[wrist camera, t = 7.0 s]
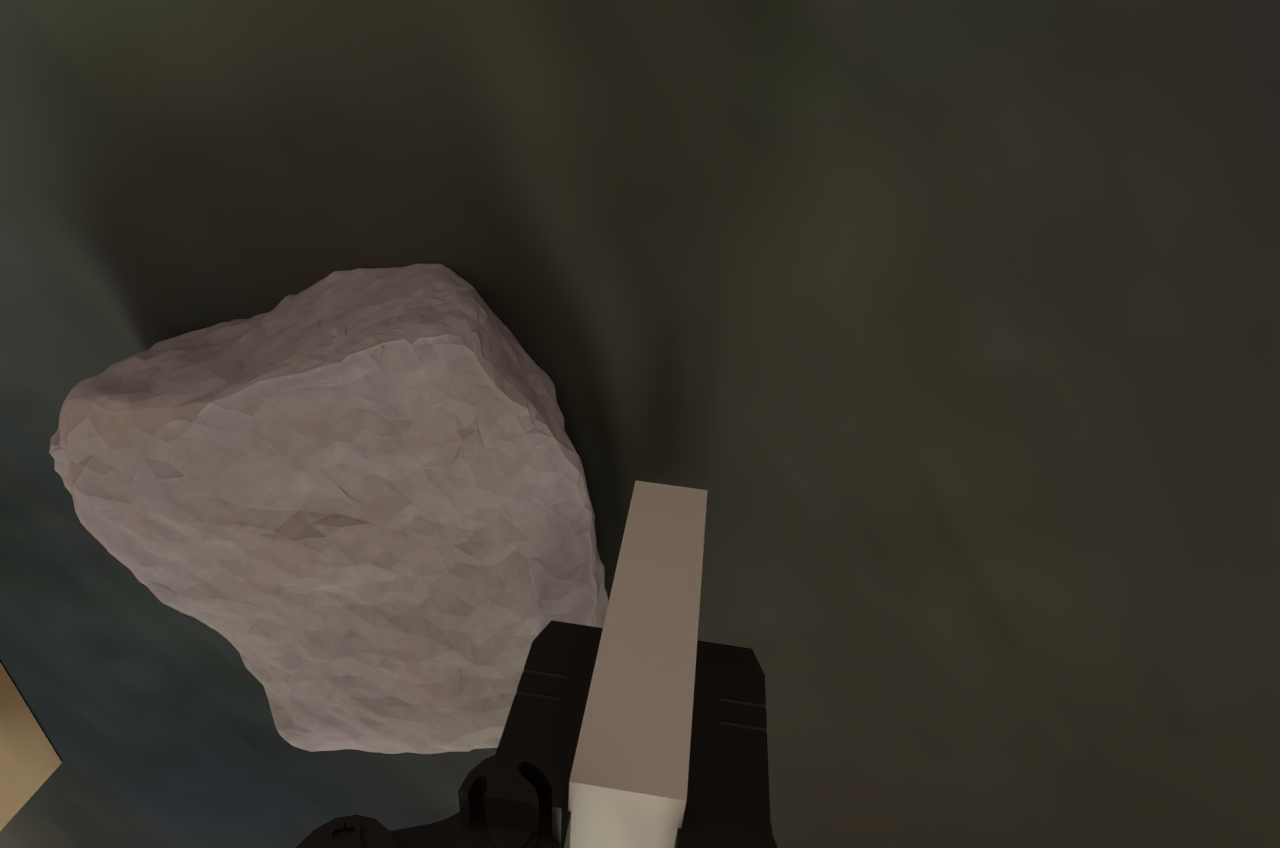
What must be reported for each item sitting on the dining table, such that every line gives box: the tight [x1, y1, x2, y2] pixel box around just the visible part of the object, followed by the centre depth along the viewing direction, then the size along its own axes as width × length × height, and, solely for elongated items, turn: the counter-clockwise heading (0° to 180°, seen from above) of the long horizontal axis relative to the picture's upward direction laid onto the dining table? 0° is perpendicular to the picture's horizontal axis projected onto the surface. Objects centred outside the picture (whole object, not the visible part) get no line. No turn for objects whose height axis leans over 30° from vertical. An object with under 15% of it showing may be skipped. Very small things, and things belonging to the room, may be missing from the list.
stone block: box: [49, 263, 609, 754], centre depth 16 cm, size 12×5×10 cm
